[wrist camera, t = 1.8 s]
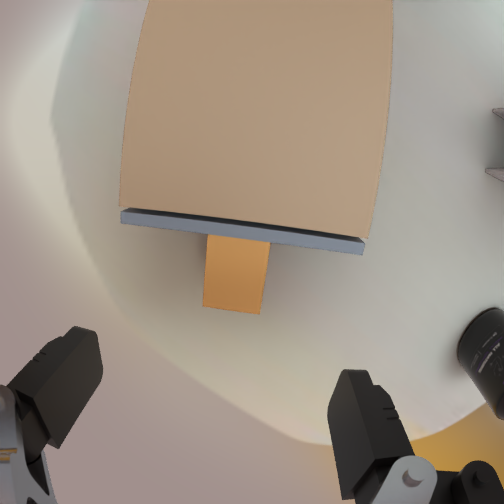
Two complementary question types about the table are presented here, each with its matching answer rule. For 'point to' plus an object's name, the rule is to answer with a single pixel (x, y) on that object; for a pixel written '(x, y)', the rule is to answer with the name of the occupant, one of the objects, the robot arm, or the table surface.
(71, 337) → the robot arm
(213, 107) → the sleeve
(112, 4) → the table surface
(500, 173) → the grey standing panel
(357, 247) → the tray
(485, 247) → the table surface
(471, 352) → the supplement bottle
